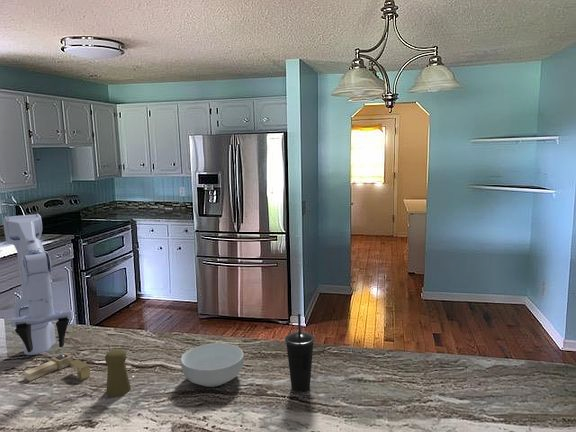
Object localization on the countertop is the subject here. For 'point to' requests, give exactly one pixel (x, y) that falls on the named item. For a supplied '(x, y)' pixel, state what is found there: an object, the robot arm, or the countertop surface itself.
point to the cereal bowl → (212, 364)
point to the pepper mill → (117, 373)
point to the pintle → (61, 356)
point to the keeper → (81, 369)
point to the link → (48, 367)
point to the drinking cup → (300, 358)
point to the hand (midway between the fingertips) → (46, 348)
